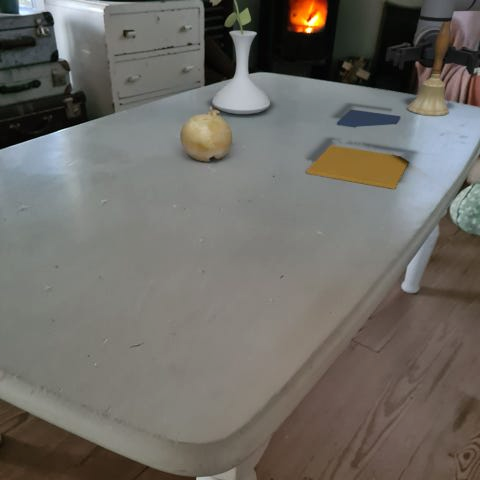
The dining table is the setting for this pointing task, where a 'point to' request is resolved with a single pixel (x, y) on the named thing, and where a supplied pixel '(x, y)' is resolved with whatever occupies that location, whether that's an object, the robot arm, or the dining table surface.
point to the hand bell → (434, 81)
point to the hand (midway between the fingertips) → (437, 64)
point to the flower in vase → (240, 73)
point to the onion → (206, 136)
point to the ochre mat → (360, 166)
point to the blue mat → (367, 119)
